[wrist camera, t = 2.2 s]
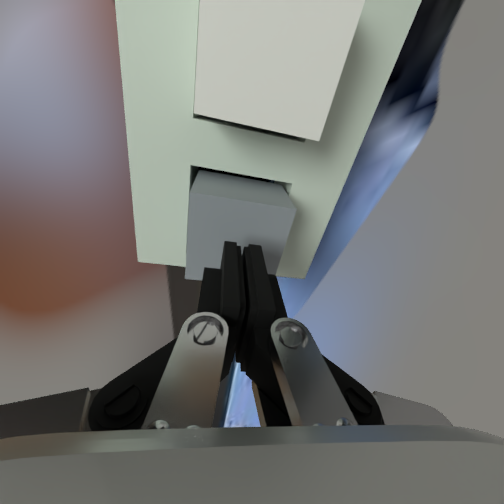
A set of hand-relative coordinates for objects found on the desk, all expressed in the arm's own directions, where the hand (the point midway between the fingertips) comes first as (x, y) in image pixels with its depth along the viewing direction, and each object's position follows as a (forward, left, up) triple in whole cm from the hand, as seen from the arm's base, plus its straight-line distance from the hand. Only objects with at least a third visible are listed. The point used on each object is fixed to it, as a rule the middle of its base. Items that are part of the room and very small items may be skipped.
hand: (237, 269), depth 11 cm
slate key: (0, 0, -5) cm, 5 cm away
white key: (-8, 0, -5) cm, 10 cm away
